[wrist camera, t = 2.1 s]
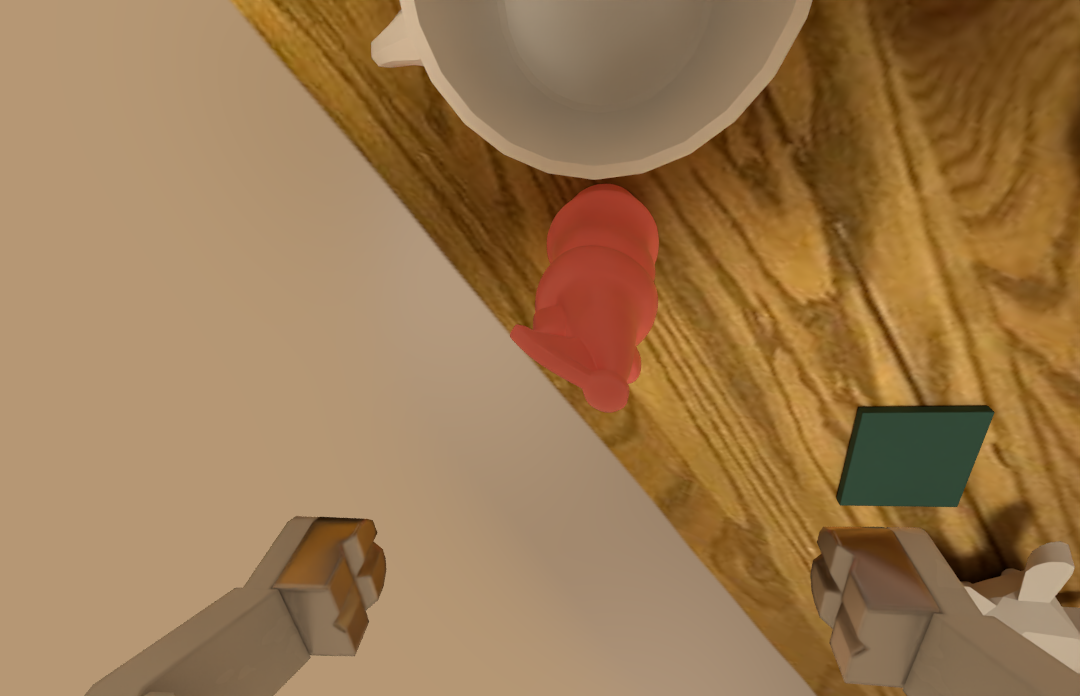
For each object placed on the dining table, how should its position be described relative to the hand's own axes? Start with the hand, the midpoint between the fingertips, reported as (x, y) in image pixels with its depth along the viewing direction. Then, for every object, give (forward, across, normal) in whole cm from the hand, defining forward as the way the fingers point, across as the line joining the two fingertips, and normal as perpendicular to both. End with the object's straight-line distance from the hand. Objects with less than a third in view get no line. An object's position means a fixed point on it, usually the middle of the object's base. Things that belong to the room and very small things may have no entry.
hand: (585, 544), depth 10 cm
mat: (+20, -18, +14) cm, 30 cm away
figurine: (+20, 0, 0) cm, 20 cm away
